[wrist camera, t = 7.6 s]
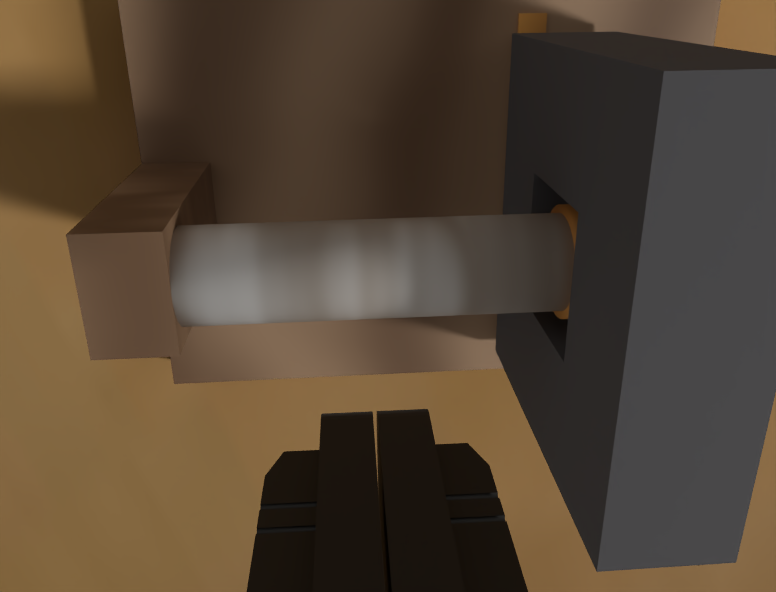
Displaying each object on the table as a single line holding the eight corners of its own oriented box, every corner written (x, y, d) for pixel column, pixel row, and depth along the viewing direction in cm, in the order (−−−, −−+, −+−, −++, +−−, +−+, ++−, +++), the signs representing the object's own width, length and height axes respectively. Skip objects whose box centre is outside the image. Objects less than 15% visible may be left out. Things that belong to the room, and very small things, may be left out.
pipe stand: (697, -9, 22) (895, -7, 14) (646, 341, 27) (774, 484, 19) (131, -2, 21) (15, 5, 13) (182, 362, 26) (119, 523, 18)
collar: (616, 31, 20) (851, 67, 11) (582, 345, 24) (735, 562, 15) (512, 33, 20) (664, 71, 11) (495, 349, 24) (596, 571, 15)
